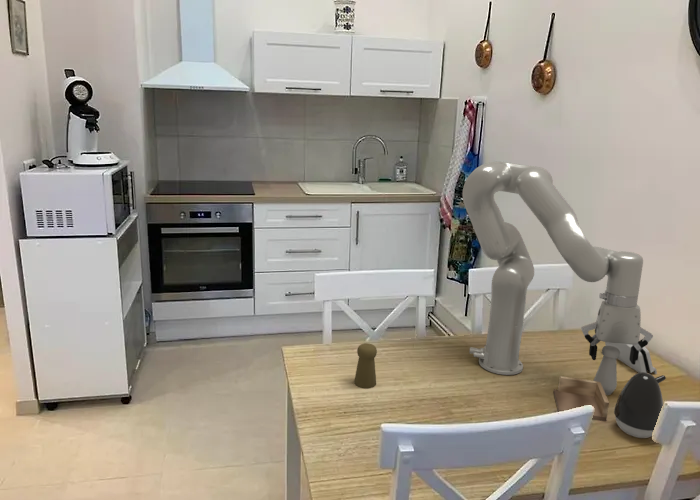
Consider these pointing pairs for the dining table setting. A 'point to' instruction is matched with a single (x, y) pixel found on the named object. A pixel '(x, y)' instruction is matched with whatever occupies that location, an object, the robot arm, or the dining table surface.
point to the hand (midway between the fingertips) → (612, 360)
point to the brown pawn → (366, 366)
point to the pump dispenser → (639, 405)
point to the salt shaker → (608, 369)
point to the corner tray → (581, 396)
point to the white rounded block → (641, 364)
